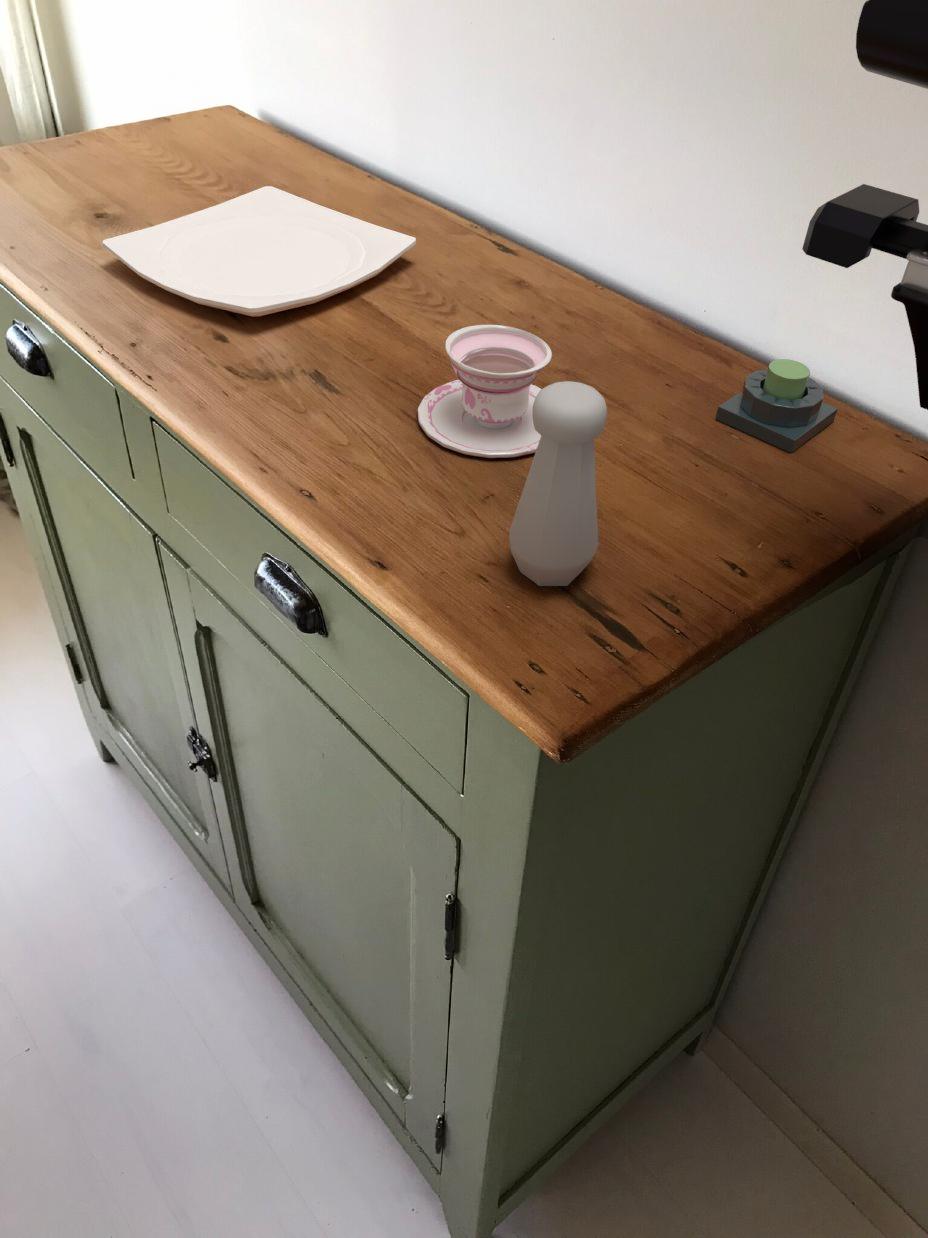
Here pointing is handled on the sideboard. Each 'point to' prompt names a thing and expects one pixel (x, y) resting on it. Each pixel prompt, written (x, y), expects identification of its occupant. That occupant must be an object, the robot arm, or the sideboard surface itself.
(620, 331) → the sideboard surface
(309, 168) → the sideboard surface
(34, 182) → the sideboard surface
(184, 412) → the sideboard surface
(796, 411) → the button base
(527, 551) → the salt shaker
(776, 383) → the green short cylinder
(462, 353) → the teacup
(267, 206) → the plate
